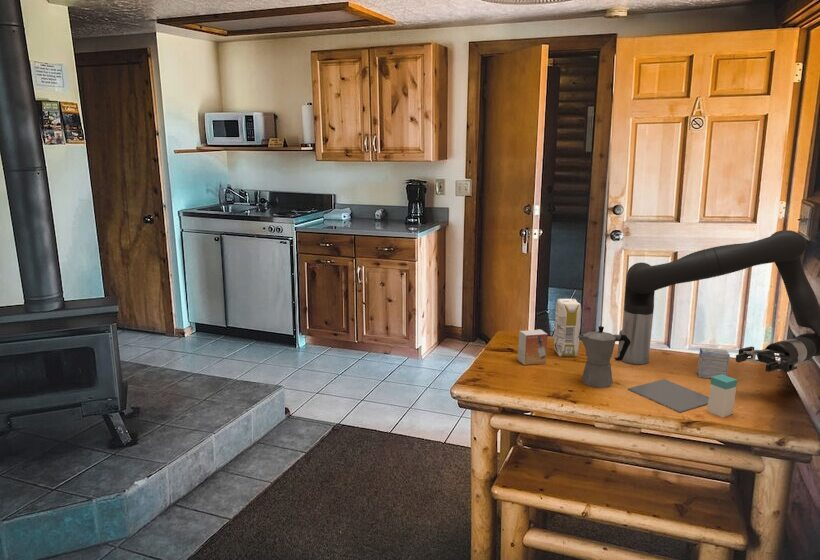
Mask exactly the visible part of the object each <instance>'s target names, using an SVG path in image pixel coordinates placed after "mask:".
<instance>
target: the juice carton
mask: <svg viewBox="0 0 820 560" xmlns="http://www.w3.org/2000/svg"><path fill="white" fill-rule="evenodd" d="M554 315H555V316H554V330H553V331H554V333H553V348H554V351H555V352H556V354H557V355H558V356H559V357H566V358H567V357H568V358H569V357H572V358H574V357H575V358H576V357H578V354H579V353H578V352H579V349H580V348H579V347H580V338H578V336H579V335H581V322H582V321H581V320H582V303H580V302H578V300H577V299H576V298H557V301H556V305H555V314H554Z"/></svg>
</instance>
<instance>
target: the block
mask: <svg viewBox="0 0 820 560" xmlns="http://www.w3.org/2000/svg"><path fill="white" fill-rule="evenodd" d="M737 386H738V379H736V378H733V377H731V376H728V375H727V376H726V375H723V374H721V375H717V376H713V377H711V378H710V387H709V391H708V392H709V393H708V397H709V400H708V404H707V409H706V411H707V412H708V413H711V414H713V415H715V416H717V417H720V418H725V417H728V416H731V414H732V415H733V413H734V406H735V399H736V394H737V393H736V391H737Z"/></svg>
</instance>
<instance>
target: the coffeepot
mask: <svg viewBox="0 0 820 560" xmlns="http://www.w3.org/2000/svg"><path fill="white" fill-rule="evenodd" d="M604 329H605V327H604V326H602V325H600V326H598V330H595V331H587V332H586V333H580V335H579V336H578V338H579V340H580V341H581V342H582V344H583V346H584V348H585V349H584V350H585V356H586V362H585V365H584V367H583V368H584V369H583V371H582V377H581V382H582V383H583V384H584V385H586V386H588V387H592V388H597V389H598V388H599V389H600V388H601V389H606V388H609V387H611V386H612V384H613V376H612V375H613V374H612V364H611V358H612V356H613V352H614V349H615V346H616V345H615V344H616V342H619V341H624V344H623V347H622V350H621V351H620V356H619V357H614V360H615V361H617V362H619V361H622V359H623V357H624V355H625V353H626V351H627V349H628V347H629V345H630V340H629V338H628V337H627V336H626V335H619V334H616V333H615V334H613V333H610V332H605V331H604Z"/></svg>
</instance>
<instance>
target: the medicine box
mask: <svg viewBox="0 0 820 560" xmlns="http://www.w3.org/2000/svg"><path fill="white" fill-rule="evenodd" d="M698 352H699V354H698V361H697V362H698V363H697V375H698V377H699V378H701V379H702V378H703V379H711V377H713V376H717V375H721V374H723V375H726V376H728V371H729V364H730V363H729V362H730V357H731V355H730V354H729V352H728V350H727V349H718V348H707V347H700V348H699V351H698Z"/></svg>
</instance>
